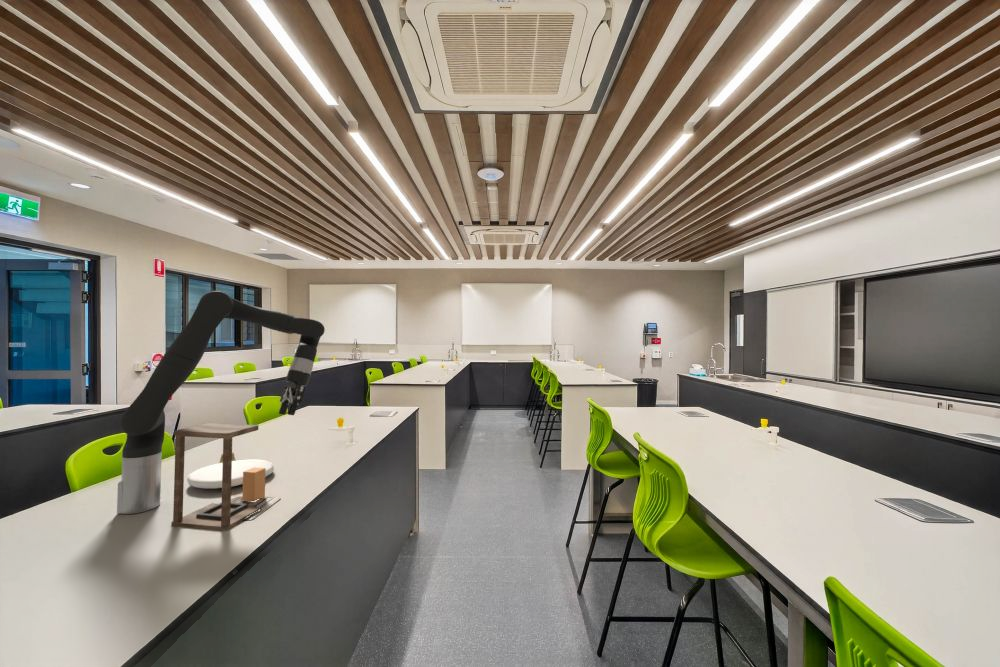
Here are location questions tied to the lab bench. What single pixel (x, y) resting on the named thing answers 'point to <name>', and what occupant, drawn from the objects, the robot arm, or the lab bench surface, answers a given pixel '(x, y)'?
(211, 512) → the walnut shelf
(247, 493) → the terracotta block
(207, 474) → the plate
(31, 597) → the lab bench surface
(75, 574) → the lab bench surface
